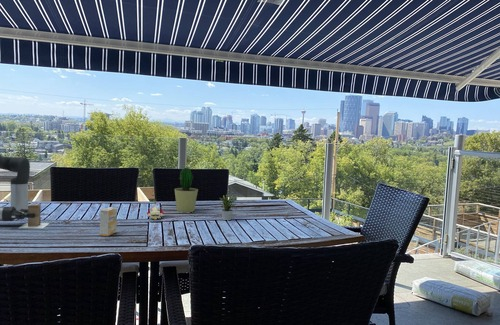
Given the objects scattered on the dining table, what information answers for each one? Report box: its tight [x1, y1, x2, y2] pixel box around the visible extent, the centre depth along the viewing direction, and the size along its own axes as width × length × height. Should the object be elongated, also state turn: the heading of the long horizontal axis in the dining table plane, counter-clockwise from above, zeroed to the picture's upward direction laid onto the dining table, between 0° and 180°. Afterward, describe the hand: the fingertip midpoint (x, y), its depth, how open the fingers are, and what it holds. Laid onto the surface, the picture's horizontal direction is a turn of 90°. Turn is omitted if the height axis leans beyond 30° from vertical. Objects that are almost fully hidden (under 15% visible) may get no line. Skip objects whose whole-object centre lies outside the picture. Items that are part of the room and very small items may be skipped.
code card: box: [18, 222, 50, 229], centre depth 205 cm, size 11×12×1 cm
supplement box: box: [99, 206, 118, 237], centre depth 195 cm, size 8×5×13 cm, turn 168°
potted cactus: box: [174, 167, 199, 213], centre depth 257 cm, size 15×15×30 cm
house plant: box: [217, 193, 239, 221], centre depth 236 cm, size 14×14×16 cm
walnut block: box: [27, 203, 42, 227], centre depth 205 cm, size 5×5×11 cm
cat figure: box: [146, 200, 165, 220], centre depth 241 cm, size 10×9×25 cm
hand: (37, 213), depth 205 cm, fingers open, 8 cm apart
